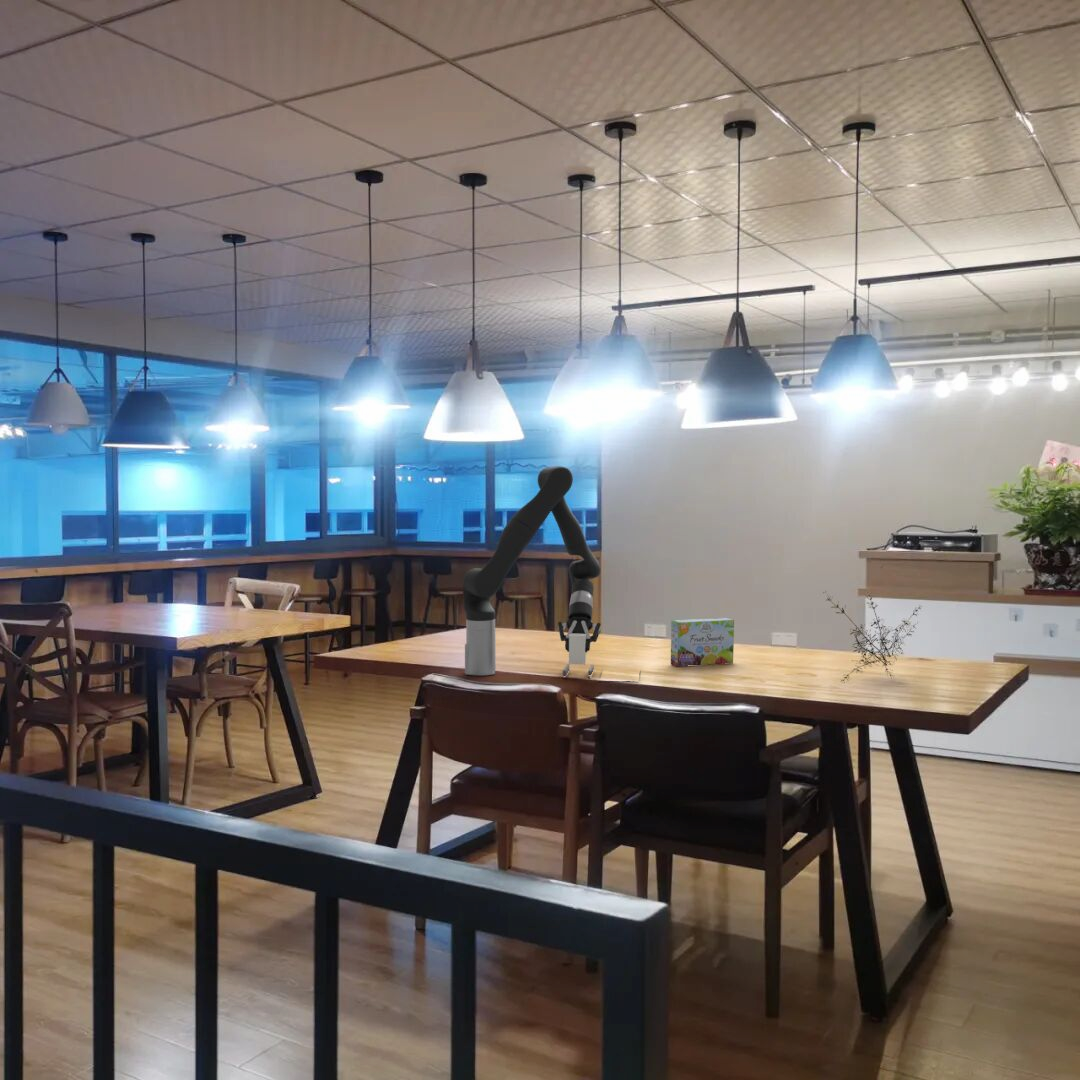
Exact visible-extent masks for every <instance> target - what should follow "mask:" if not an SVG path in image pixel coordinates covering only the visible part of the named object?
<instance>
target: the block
mask: <svg viewBox="0 0 1080 1080" xmlns="http://www.w3.org/2000/svg"><path fill="white" fill-rule="evenodd" d="M585 643H586V634H583V633H572V634H570V635H569V652H568V664H569V665H586V663H587V652H585Z"/></svg>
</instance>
